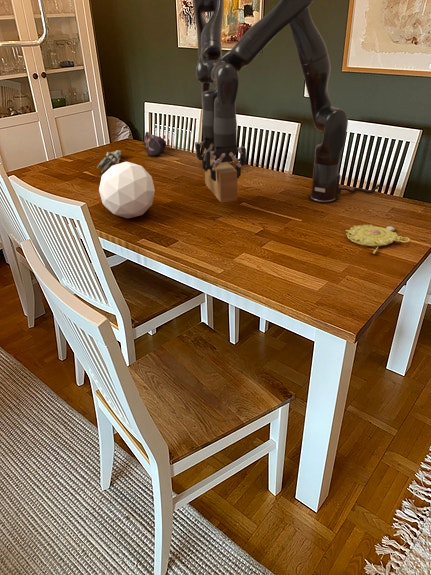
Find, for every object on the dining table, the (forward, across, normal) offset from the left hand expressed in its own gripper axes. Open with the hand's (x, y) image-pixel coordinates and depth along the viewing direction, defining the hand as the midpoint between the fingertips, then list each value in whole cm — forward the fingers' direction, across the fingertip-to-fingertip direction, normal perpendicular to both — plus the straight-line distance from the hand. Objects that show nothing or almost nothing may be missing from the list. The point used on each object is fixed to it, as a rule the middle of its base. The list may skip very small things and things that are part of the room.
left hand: (214, 169), depth 165 cm
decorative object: (+12, +38, -50) cm, 64 cm away
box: (+6, 0, -7) cm, 9 cm away
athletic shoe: (+13, -9, +76) cm, 78 cm away
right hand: (-1, 0, -14) cm, 14 cm away
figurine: (+13, -34, +62) cm, 72 cm away
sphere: (+12, -33, -3) cm, 36 cm away
